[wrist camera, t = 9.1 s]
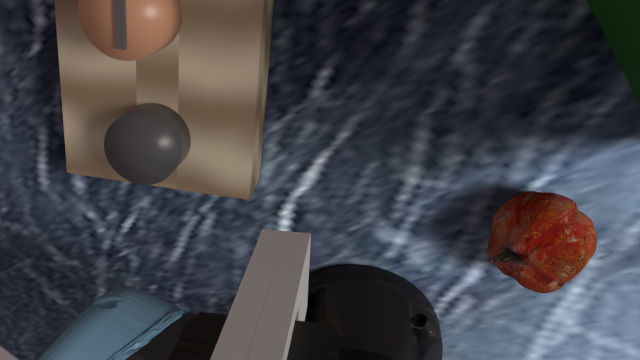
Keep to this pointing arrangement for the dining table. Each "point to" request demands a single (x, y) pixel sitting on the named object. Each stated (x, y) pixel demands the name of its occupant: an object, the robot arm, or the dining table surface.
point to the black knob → (147, 143)
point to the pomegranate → (541, 240)
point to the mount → (175, 93)
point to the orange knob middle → (130, 26)
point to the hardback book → (622, 35)
